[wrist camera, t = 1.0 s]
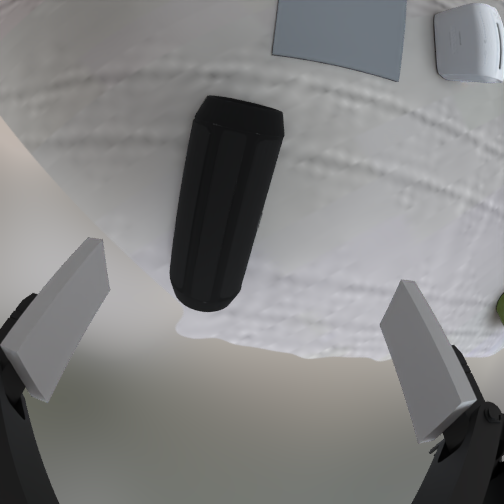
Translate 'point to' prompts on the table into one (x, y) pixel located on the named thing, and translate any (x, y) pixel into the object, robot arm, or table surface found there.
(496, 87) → the table surface
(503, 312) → the plant pot
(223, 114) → the portable speaker
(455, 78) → the photo printer
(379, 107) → the table surface
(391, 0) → the rubber mat
